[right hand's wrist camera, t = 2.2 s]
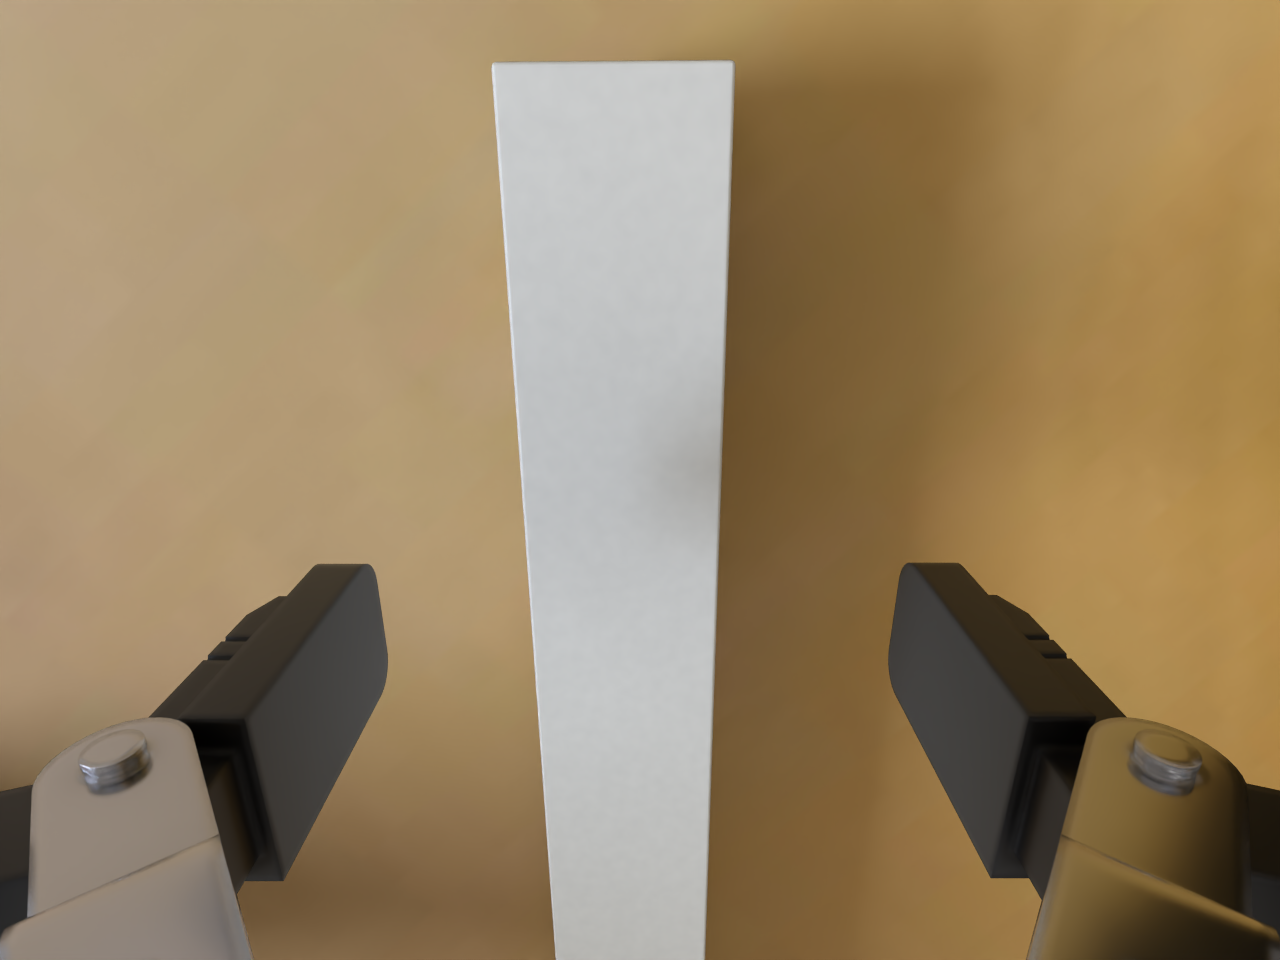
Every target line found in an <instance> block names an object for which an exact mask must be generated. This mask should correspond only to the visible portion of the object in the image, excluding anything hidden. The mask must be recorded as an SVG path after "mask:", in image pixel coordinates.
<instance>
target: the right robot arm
mask: <svg viewBox="0 0 1280 960" xmlns="http://www.w3.org/2000/svg"><path fill="white" fill-rule="evenodd" d="M888 665H889V674H890V680H891V684H892V688H893V690H894V693H895V695H896V697H897V699H898V701H899V703H900V705H901V707H902V709H903V710H904V712H905V714H906V716H907V718H908V720H909V722H910V724H911V726H912V728H913V730H914V732H915V734H916V735H917V737H918V739H919V741H920V743H921V745H922V747H923V749H924V751H925V753H926V755H927V757H928V758H929V760H930V762H931V764H932V766H933V768H934V770H935V772H936V774H937V776H938V778H939V780H940V782H941V783H942V785H943V787H944V789H945V791H946V793H947V795H948V797H949V799H950V801H951V803H952V805H953V807H954V808H955V810H956V812H957V814H958V816H959V818H960V820H961V822H962V824H963V826H964V828H965V830H966V831H967V833H968V835H969V837H970V839H971V841H972V843H973V845H974V847H975V849H976V851H977V853H978V855H979V856H980V858H981V860H982V862H983V864H984V866H985V868H986V870H987V872H988V874H989V876H990V878H1029V879H1030V880H1031V882H1032V884H1033V886H1034V887H1035V889H1036V891H1037V892H1038V894H1039V896H1040V898H1041V899H1042V902H1041V906H1040V909H1039V913H1038V917H1037V920H1036V924H1035V928H1034V932H1033V935H1032V939H1031V943H1030V947H1029V950H1028V954H1027V958H1026V960H1280V791H1279V790H1275V789H1270V788H1265V787H1261V786H1256V785H1251V784H1246V782H1245V780H1244V778H1243V776H1242V775H1241V773H1240V772H1239V771H1238V769H1237V768H1236V767H1235V766H1234V765H1233V764H1232V763H1231V762H1230V761H1229V760H1228V759H1227V758H1226V757H1224V756H1223V755H1222V754H1221V753H1219V752H1218V751H1217V750H1215V749H1214V748H1212V747H1211V746H1209V745H1208V744H1206V743H1204V742H1203V741H1201V740H1199V739H1197V738H1195V737H1193V736H1191V735H1189V734H1187V733H1185V732H1183V731H1180V730H1178V729H1175V728H1172V727H1170V726H1167V725H1164V724H1160V723H1157V722H1153V721H1148V720H1144V719H1137V718H1127V717H1126V716H1125V715H1124V714H1123V713H1122V712H1121V711H1120V710H1119V709H1118V708H1117V707H1116V705H1115V704H1114V703H1113V702H1112V701H1111V700H1110V699H1109V698H1108V697H1107V696H1106V695H1105V694H1104V693H1103V692H1102V691H1101V690H1100V689H1099V688H1098V687H1097V685H1096V684H1095V683H1094V682H1093V681H1092V680H1091V679H1090V678H1089V677H1088V676H1087V675H1086V674H1085V673H1084V672H1083V671H1082V670H1081V669H1080V668H1079V666H1078V665H1077V664H1076V663H1075V662H1074V661H1073V660H1072V659H1067V656H1066V653H1065V652H1064V651H1063V650H1062V649H1061V648H1060V646H1059V645H1058V644H1057V643H1056V642H1055V641H1054V640H1050V639H1049V635H1048V634H1047V633H1046V632H1045V631H1044V630H1043V629H1042V627H1041V626H1040V625H1039V624H1038V623H1037V622H1036V621H1035V620H1034V619H1033V618H1032V617H1031V616H1030V615H1029V614H1028V613H1026V612H1025V611H1023V610H1021V609H1020V608H1018V607H1016V606H1014V605H1013V604H1011V603H1009V602H1008V601H1006V600H1004V599H1003V598H1001V597H999V596H997V595H988V594H987V593H986V592H985V591H984V590H983V588H982V587H981V586H980V585H979V584H978V583H977V582H976V581H975V579H974V578H973V577H972V576H971V575H970V574H969V573H968V572H967V570H966V569H965V568H964V567H963V566H962V565H961V564H959V563H907V564H905V565H904V567H903V568H902V570H901V573H900V577H899V583H898V590H897V597H896V604H895V611H894V618H893V625H892V632H891V639H890V645H889V654H888ZM387 669H388V653H387V646H386V639H385V632H384V625H383V618H382V612H381V605H380V598H379V591H378V584H377V579H376V575H375V572H374V569H373V568H372V566H370V565H369V564H317V565H315V566H314V567H313V568H312V569H311V570H310V571H309V572H308V573H307V574H306V576H305V577H304V578H303V579H302V580H301V581H300V582H299V583H298V584H297V586H296V587H295V588H294V589H293V590H292V591H291V592H290V593H289V594H288V596H278V597H277V598H275V599H273V600H272V601H270V602H268V603H267V604H265V605H263V606H261V607H260V608H258V609H256V610H255V611H253V612H251V613H249V614H248V615H246V616H245V617H244V618H243V619H242V621H241V622H240V623H239V624H238V625H237V626H236V627H235V628H234V629H233V630H232V631H231V632H230V633H229V634H228V635H227V636H226V640H225V642H220V644H219V645H218V646H217V647H216V648H215V649H214V650H213V651H212V652H211V653H210V654H209V655H208V660H203V661H202V662H201V663H200V664H199V665H198V666H197V668H196V669H195V670H194V671H193V672H192V673H191V674H190V675H189V676H188V677H187V678H186V679H185V680H184V681H183V682H182V683H181V684H180V685H179V686H178V687H177V688H176V689H175V691H174V692H173V693H172V694H171V695H170V696H169V697H168V698H167V699H166V700H165V701H164V702H163V703H162V704H161V705H160V706H159V707H158V708H157V709H156V710H155V711H154V712H153V714H152V715H151V716H150V717H149V718H143V719H136V720H132V721H127V722H123V723H120V724H116V725H113V726H110V727H108V728H105V729H102V730H100V731H97V732H95V733H93V734H91V735H89V736H87V737H85V738H83V739H81V740H79V741H77V742H76V743H74V744H72V745H71V746H69V747H68V748H66V749H65V750H63V751H62V752H61V753H59V754H58V755H57V756H56V757H54V758H53V759H52V760H51V761H50V762H49V763H48V764H47V765H46V766H45V767H44V768H43V769H42V771H41V772H40V773H39V775H38V776H37V778H36V780H35V782H34V784H33V785H29V786H25V787H20V788H15V789H11V790H6V791H1V792H0V960H254V958H253V954H252V950H251V947H250V943H249V939H248V935H247V932H246V928H245V924H244V920H243V917H242V913H241V909H240V906H239V902H238V898H237V893H238V891H239V890H240V888H241V886H242V884H243V883H244V881H284V879H285V877H286V875H287V873H288V871H289V869H290V868H291V866H292V864H293V862H294V860H295V858H296V856H297V854H298V852H299V850H300V849H301V847H302V845H303V843H304V841H305V839H306V837H307V835H308V833H309V831H310V830H311V828H312V826H313V824H314V822H315V820H316V818H317V816H318V814H319V812H320V811H321V809H322V807H323V805H324V803H325V801H326V799H327V797H328V795H329V793H330V792H331V790H332V788H333V786H334V784H335V782H336V780H337V778H338V776H339V775H340V773H341V771H342V769H343V767H344V765H345V763H346V761H347V759H348V757H349V756H350V754H351V752H352V750H353V748H354V746H355V744H356V742H357V740H358V738H359V737H360V735H361V733H362V731H363V729H364V727H365V725H366V723H367V721H368V719H369V718H370V716H371V714H372V712H373V710H374V708H375V706H376V704H377V702H378V701H379V699H380V697H381V695H382V692H383V689H384V686H385V682H386V677H387Z"/></svg>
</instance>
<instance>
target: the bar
mask: <svg viewBox="0 0 1280 960" xmlns="http://www.w3.org/2000/svg"><path fill="white" fill-rule="evenodd" d="M492 80H493V94H494V108H495V122H496V136H497V150H498V164H499V178H500V192H501V205H502V219H503V233H504V247H505V261H506V275H507V289H508V303H509V317H510V331H511V345H512V358H513V372H514V386H515V400H516V414H517V428H518V442H519V456H520V470H521V484H522V498H523V511H524V525H525V539H526V553H527V567H528V581H529V595H530V609H531V623H532V637H533V651H534V665H535V678H536V692H537V706H538V720H539V734H540V748H541V762H542V776H543V790H544V804H545V818H546V831H547V845H548V859H549V873H550V887H551V901H552V915H553V929H554V943H555V957H556V960H705V946H706V916H707V887H708V858H709V828H710V799H711V769H712V740H713V710H714V681H715V651H716V622H717V592H718V563H719V533H720V504H721V475H722V445H723V416H724V386H725V357H726V327H727V298H728V268H729V239H730V209H731V180H732V150H733V121H734V92H735V62H734V61H732V60H658V61H530V62H494V63H493V64H492Z"/></svg>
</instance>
